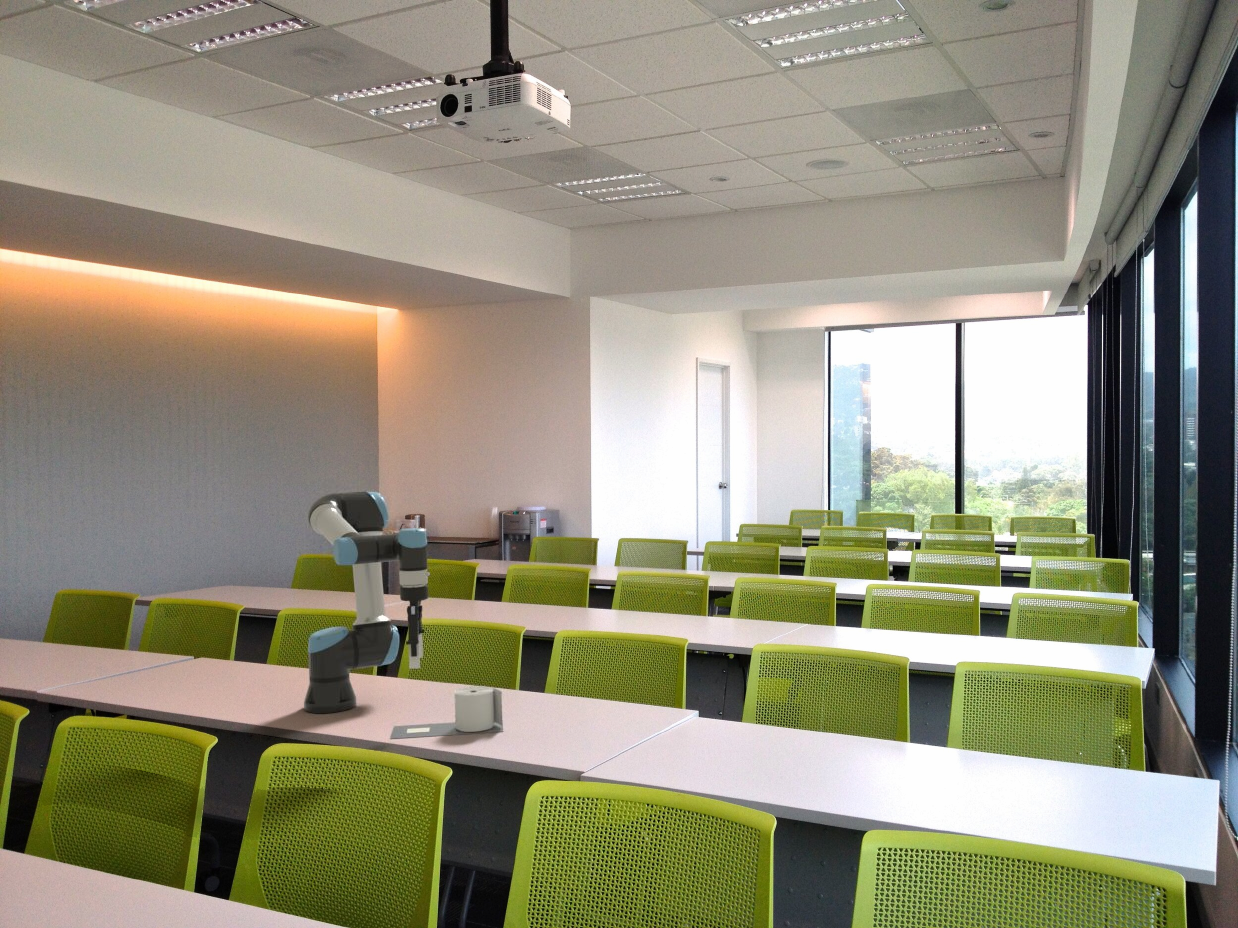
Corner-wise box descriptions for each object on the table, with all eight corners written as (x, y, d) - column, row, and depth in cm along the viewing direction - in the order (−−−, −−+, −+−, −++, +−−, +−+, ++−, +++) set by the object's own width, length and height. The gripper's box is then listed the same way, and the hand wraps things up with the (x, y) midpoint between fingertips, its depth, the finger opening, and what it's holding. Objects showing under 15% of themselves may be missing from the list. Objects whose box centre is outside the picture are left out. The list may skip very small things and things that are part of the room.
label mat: (390, 738, 267) (390, 738, 267) (394, 726, 279) (394, 725, 279) (503, 731, 271) (503, 730, 271) (502, 719, 283) (502, 718, 283)
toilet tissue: (451, 724, 279) (450, 688, 279) (494, 718, 283) (493, 683, 283) (459, 734, 269) (458, 697, 269) (503, 728, 273) (502, 692, 273)
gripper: (425, 591, 261) (427, 672, 262) (430, 578, 286) (432, 652, 286) (396, 592, 260) (398, 673, 261) (403, 579, 285) (405, 653, 285)
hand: (416, 662), depth 273 cm, fingers open, 13 cm apart
